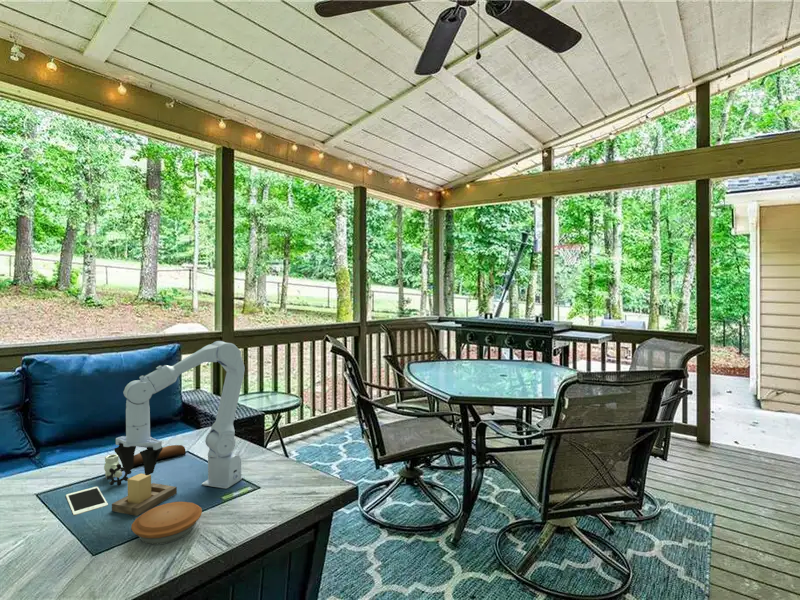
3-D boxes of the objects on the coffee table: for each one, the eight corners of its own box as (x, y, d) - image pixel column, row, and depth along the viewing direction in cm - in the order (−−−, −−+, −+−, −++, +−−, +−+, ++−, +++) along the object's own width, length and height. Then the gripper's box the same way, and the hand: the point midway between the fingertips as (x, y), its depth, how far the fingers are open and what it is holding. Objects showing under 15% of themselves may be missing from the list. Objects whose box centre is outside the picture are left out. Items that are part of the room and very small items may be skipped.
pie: (143, 559, 95) (142, 537, 95) (123, 533, 105) (123, 513, 105) (212, 530, 106) (212, 510, 106) (188, 509, 117) (188, 491, 116)
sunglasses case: (179, 448, 162) (181, 436, 160) (184, 462, 158) (186, 449, 155) (124, 461, 150) (125, 448, 147) (127, 477, 146) (129, 463, 143)
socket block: (176, 493, 126) (176, 486, 126) (137, 515, 113) (137, 508, 113) (153, 489, 128) (152, 483, 128) (111, 511, 116) (111, 503, 116)
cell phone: (73, 517, 114) (73, 514, 114) (65, 496, 125) (65, 494, 125) (108, 506, 119) (108, 504, 119) (97, 488, 130) (97, 486, 130)
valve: (98, 477, 137) (106, 489, 129) (98, 457, 137) (106, 467, 129) (122, 471, 142) (131, 482, 134) (121, 451, 142) (131, 461, 134)
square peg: (151, 502, 120) (151, 474, 120) (139, 509, 116) (138, 480, 116) (140, 501, 121) (140, 473, 121) (127, 507, 117) (127, 479, 117)
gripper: (105, 425, 117) (105, 474, 117) (145, 430, 112) (146, 481, 113) (128, 418, 123) (129, 464, 124) (167, 422, 119) (168, 470, 119)
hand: (138, 472), depth 119 cm, fingers open, 7 cm apart
